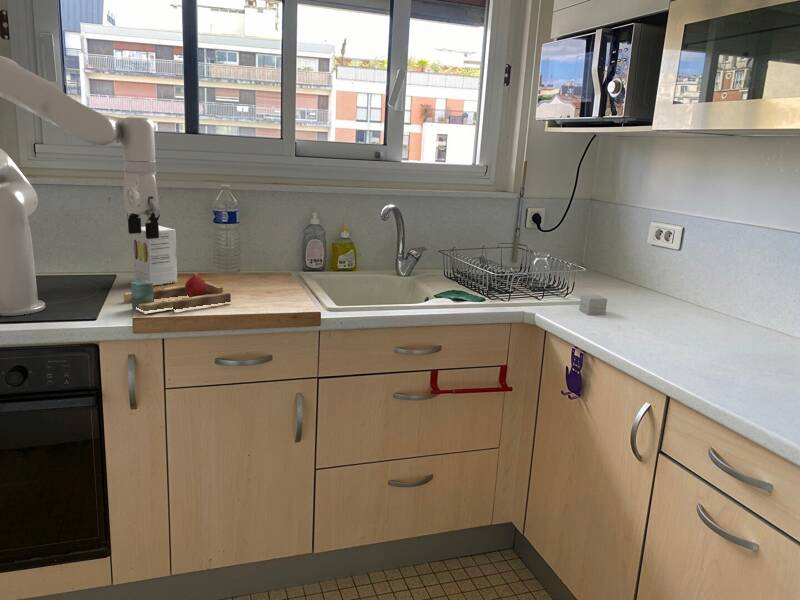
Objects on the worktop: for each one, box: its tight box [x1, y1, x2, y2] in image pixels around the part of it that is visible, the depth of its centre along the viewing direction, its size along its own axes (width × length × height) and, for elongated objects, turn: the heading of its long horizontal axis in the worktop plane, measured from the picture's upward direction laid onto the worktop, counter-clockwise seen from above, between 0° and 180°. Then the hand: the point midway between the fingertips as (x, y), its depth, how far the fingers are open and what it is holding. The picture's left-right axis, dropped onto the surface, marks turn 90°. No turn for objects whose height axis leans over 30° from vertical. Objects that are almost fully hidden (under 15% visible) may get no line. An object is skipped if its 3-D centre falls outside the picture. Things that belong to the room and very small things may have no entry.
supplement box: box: [132, 225, 178, 285], centre depth 198 cm, size 10×9×17 cm
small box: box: [579, 293, 608, 316], centre depth 188 cm, size 6×6×5 cm
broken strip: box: [123, 284, 185, 304], centre depth 183 cm, size 21×1×2 cm, turn 135°
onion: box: [184, 272, 207, 297], centre depth 180 cm, size 6×6×8 cm
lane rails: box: [153, 287, 232, 310], centre depth 178 cm, size 16×14×3 cm
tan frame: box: [130, 280, 224, 311], centre depth 175 cm, size 22×10×7 cm, turn 135°
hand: (143, 235), depth 168 cm, fingers open, 9 cm apart
